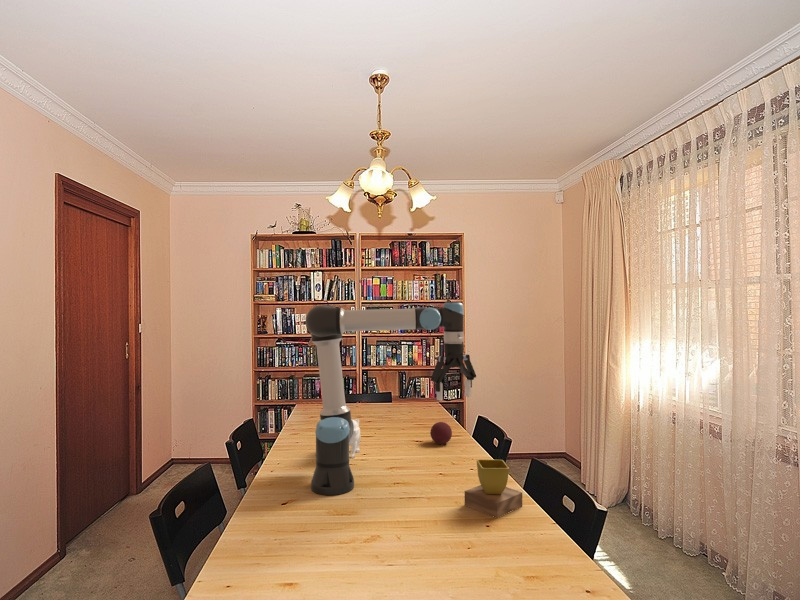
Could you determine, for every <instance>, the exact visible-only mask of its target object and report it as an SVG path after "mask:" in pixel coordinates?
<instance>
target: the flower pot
mask: <svg viewBox="0 0 800 600" xmlns="http://www.w3.org/2000/svg"><path fill="white" fill-rule="evenodd" d="M476 466H477V467H476V468H477V477H478V480H479V483H480V485H481V486H482V488H483V490H484V492H485V493H486V494H502V492H503V491H504V489H505V487H507V485H508V480H509V472H510V467H509V466H508V465H507V464H506V462H505V461H504V460H503V459H476Z"/></svg>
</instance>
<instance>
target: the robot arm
mask: <svg viewBox="0 0 800 600" xmlns="http://www.w3.org/2000/svg"><path fill="white" fill-rule="evenodd" d="M464 315H465V313H464V304H463V303H462V302H444V303H443V306H442V307H420V306H419V307H413V308H381V309H379V308H378V309H376V308H375V309H344V308H343V307H335V306H332V305H330V304H320V305H319V304H318V305H315V306H314V307H312V308H311V309H309V310H308V311H307V314H306V317H305V326H306V329H307V331H308V332H310V335H311V342H312V344H314V345H315V346H316V354H317V355H316V356H317V365H318V374H319V381H320V391H321V398H322V409H321V411H320V412H319V419H320V420H319V421H318V422H317V423H316V425H315V427H316V428H315V430H314V431H315V468H314V469H315V470H314V471H313V474H312V478H311V482H310V489H311V491H312V492H313V493H315V494H317V495H323V496H335V495H343V494H346V493H349V492H351V491H352V490H353V489H354V488H355V478H354V475H353V472H352V469H351V467H350V445H349V442H350V439H351V437H352V435H353V431H354V425H353V421H352V420H351V419H352V412H351V408H350V407H349V406H347V404H346V397H345V386H344V378H343V377H344V376H343V369H342V361H341V360H342V359H341V352H340V351H341V349H340V342H341V341H342V340H343V334H344V333H346V332H363V331H364V332H369V331H370V332H371V331H373V332H374V331H400V330H401V331H406V330H427V331H430V330H431V331H432V330H435V329H437V328H443V342H444V343H443V353H444V356H441V355H438V356H437V359H436V360H437V361H436V364H435V367H434V369H433V372H432V373H431V377H430V381H431V382H433V383H434V390H435V392H436V401H439V402H442V401H444V400H443V399H444V398H443V395H444V394H443V391H444V389H443V387H444V385H443V382H442V381H443V380H444V378H445V376H446V374H447V373H448V372H449V370H450V369H451V368H452V369H453V368H458V369H459V370H460V371H461V373H462V374H463V375H464V378H465V379H464V397H467V398H471V396H472V393H471V391H472V386H473V381H474V380H475V379H476V378H477V375H476V372H475V369H474V367H473V364H472V362H471V357H470V354H468V353H467V354H466V353H464V351H465V349H464V347H465V345H464V342H465V340H464V339H465V338H464V337H465V336H464V333H465V332H464V327H465V326H464V323H465V321H464V320H465V319H464V318H465V317H464Z"/></svg>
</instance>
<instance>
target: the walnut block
mask: <svg viewBox="0 0 800 600" xmlns="http://www.w3.org/2000/svg"><path fill="white" fill-rule="evenodd" d="M464 506H466V507H468V508H469V509H473V510H475V511H478V512H481V513H483V514H485V513H486V515H487V516H490V515H491V516H490V517H493V516H494V517H493V518H495V517H496V519H499V518H501V517H503V516H505V515H507V514H506V513H508V512H510V511H512V510H514V511H516V510H518V509H520V508H522V507H523V491H519V490H515V489H513V488H511V487H508V486H506V487H505V489H504V491H503V492H502V494H486V493H485V492H484V490H483V488H482V486H481V484H480V485H477V486H475V487H472V488H469V489H467V490H464ZM519 507H520V508H519ZM517 508H518V509H517ZM515 509H516V510H515ZM512 512H513V511H512ZM510 513H511V512H510ZM504 514H505V515H504ZM508 514H509V513H508ZM502 515H503V516H502ZM500 516H501V517H500ZM498 517H499V518H498Z"/></svg>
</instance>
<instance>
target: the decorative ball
mask: <svg viewBox="0 0 800 600" xmlns="http://www.w3.org/2000/svg"><path fill="white" fill-rule="evenodd" d="M429 433H430V438H431V439H432V441H433V442H434V443H436V444H438V445H445V444H447V443H449V442H450V441H451V439H452V436H453V431H452V428H451V426H450V425H449V424H448V423H446V422H445V421H439V422H435V423H434V424H433V425H432V427H431V428H430V432H429Z"/></svg>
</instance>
